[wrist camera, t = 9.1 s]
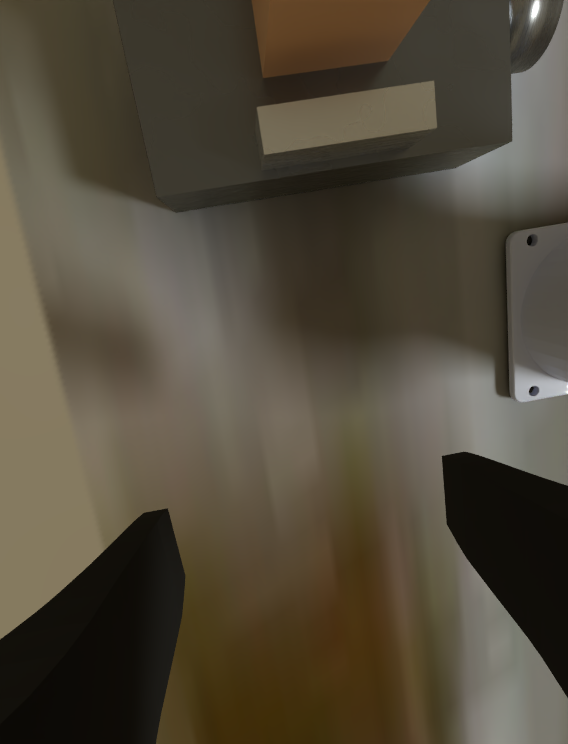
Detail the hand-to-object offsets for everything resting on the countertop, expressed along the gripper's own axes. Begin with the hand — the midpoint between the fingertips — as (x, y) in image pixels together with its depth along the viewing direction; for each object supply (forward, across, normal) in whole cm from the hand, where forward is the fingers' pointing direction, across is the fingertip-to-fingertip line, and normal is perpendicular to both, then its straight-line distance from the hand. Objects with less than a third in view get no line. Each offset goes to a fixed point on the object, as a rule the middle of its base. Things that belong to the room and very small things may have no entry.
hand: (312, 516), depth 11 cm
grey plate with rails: (+9, -4, -14) cm, 17 cm away
